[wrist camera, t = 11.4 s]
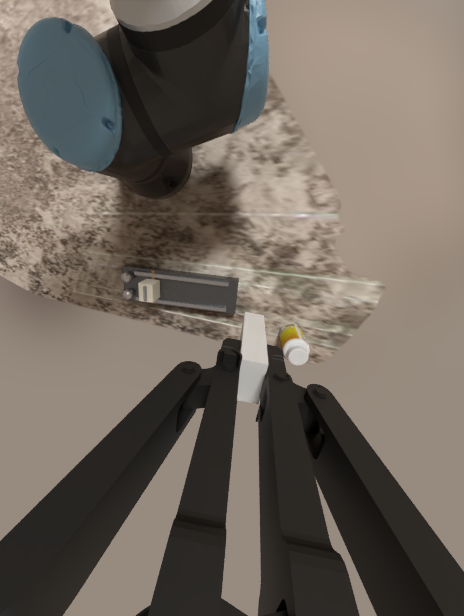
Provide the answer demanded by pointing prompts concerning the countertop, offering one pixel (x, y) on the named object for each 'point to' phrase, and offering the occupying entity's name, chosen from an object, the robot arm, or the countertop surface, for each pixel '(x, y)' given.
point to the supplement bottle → (294, 344)
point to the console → (184, 288)
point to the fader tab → (149, 290)
